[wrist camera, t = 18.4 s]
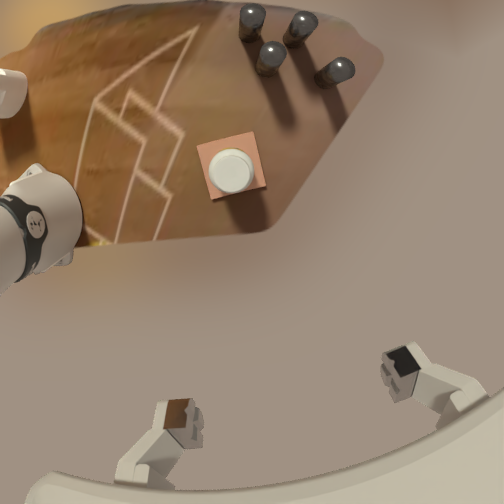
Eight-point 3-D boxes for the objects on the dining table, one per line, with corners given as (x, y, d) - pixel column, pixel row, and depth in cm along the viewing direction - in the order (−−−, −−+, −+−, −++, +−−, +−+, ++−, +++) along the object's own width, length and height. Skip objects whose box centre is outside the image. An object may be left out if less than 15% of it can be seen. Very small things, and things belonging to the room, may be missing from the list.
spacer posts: (256, 99, 35) (261, 90, 28) (236, 28, 31) (237, 5, 23) (335, 87, 35) (357, 78, 28) (315, 19, 30) (332, -2, 23)
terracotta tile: (211, 198, 40) (211, 199, 40) (197, 145, 37) (196, 145, 37) (265, 185, 40) (266, 185, 40) (252, 131, 37) (253, 131, 37)
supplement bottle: (204, 165, 38) (195, 173, 29) (232, 139, 37) (232, 138, 28) (231, 192, 40) (230, 208, 31) (258, 166, 39) (266, 175, 30)
